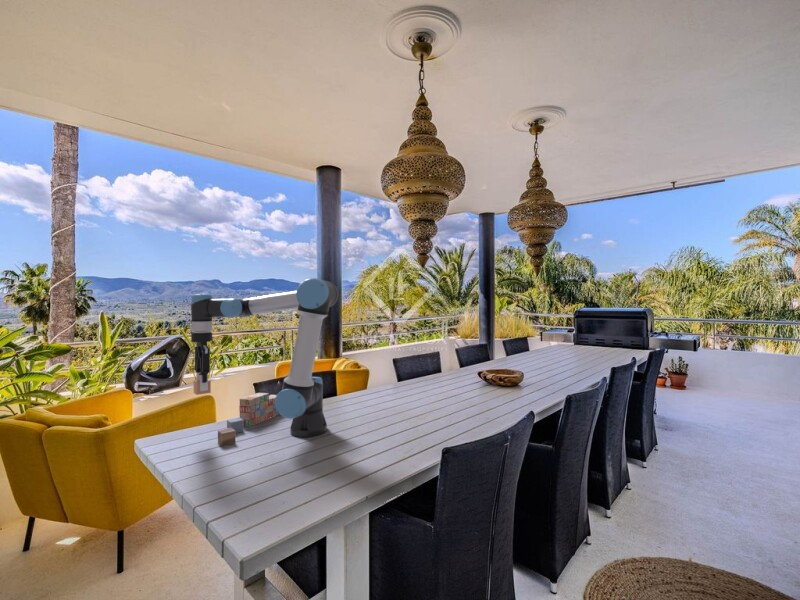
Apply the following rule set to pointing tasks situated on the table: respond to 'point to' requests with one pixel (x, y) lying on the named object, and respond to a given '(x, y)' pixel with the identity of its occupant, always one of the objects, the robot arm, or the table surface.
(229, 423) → the slate rectangular block
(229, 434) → the walnut cube
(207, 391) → the terracotta cube
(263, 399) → the stack of blocks
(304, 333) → the robot arm
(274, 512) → the table surface
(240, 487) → the table surface
